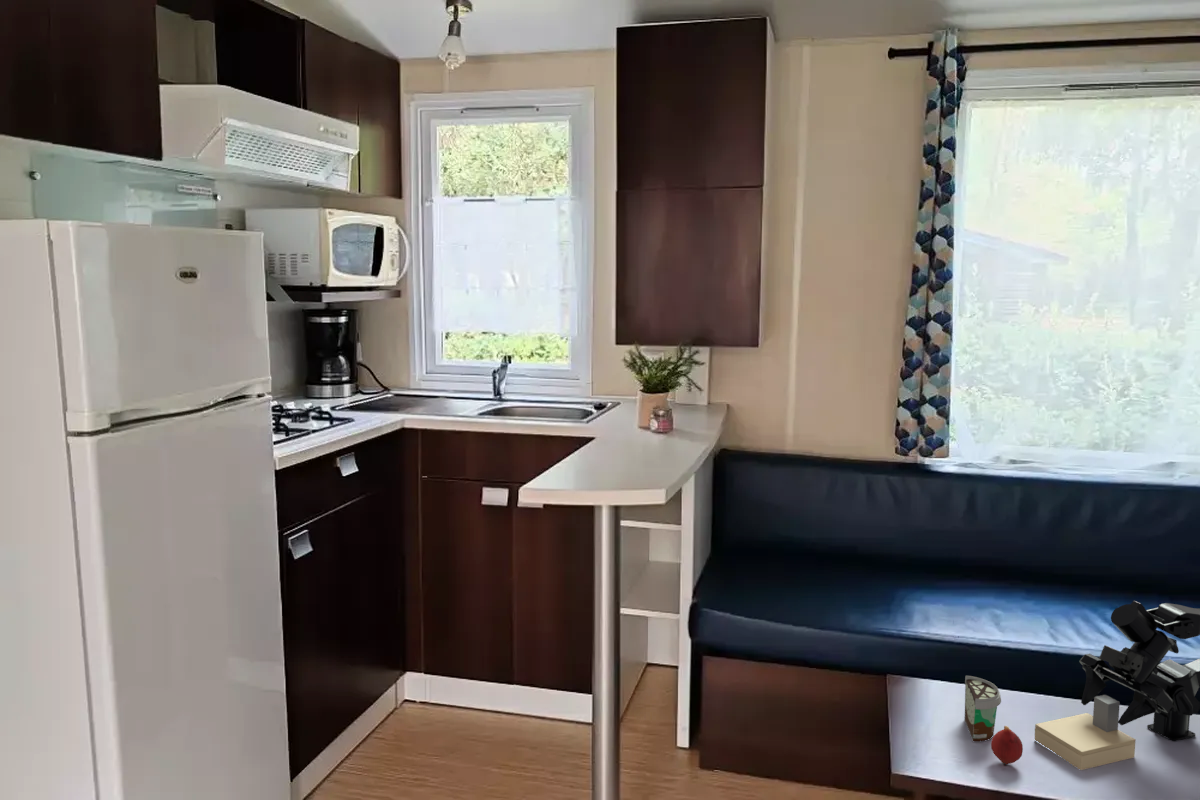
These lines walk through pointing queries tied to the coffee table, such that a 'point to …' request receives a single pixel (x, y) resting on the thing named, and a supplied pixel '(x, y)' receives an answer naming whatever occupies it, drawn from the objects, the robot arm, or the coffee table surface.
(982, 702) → the food container
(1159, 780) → the coffee table surface
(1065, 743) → the carton flap
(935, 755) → the coffee table surface
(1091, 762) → the carton
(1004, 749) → the onion
